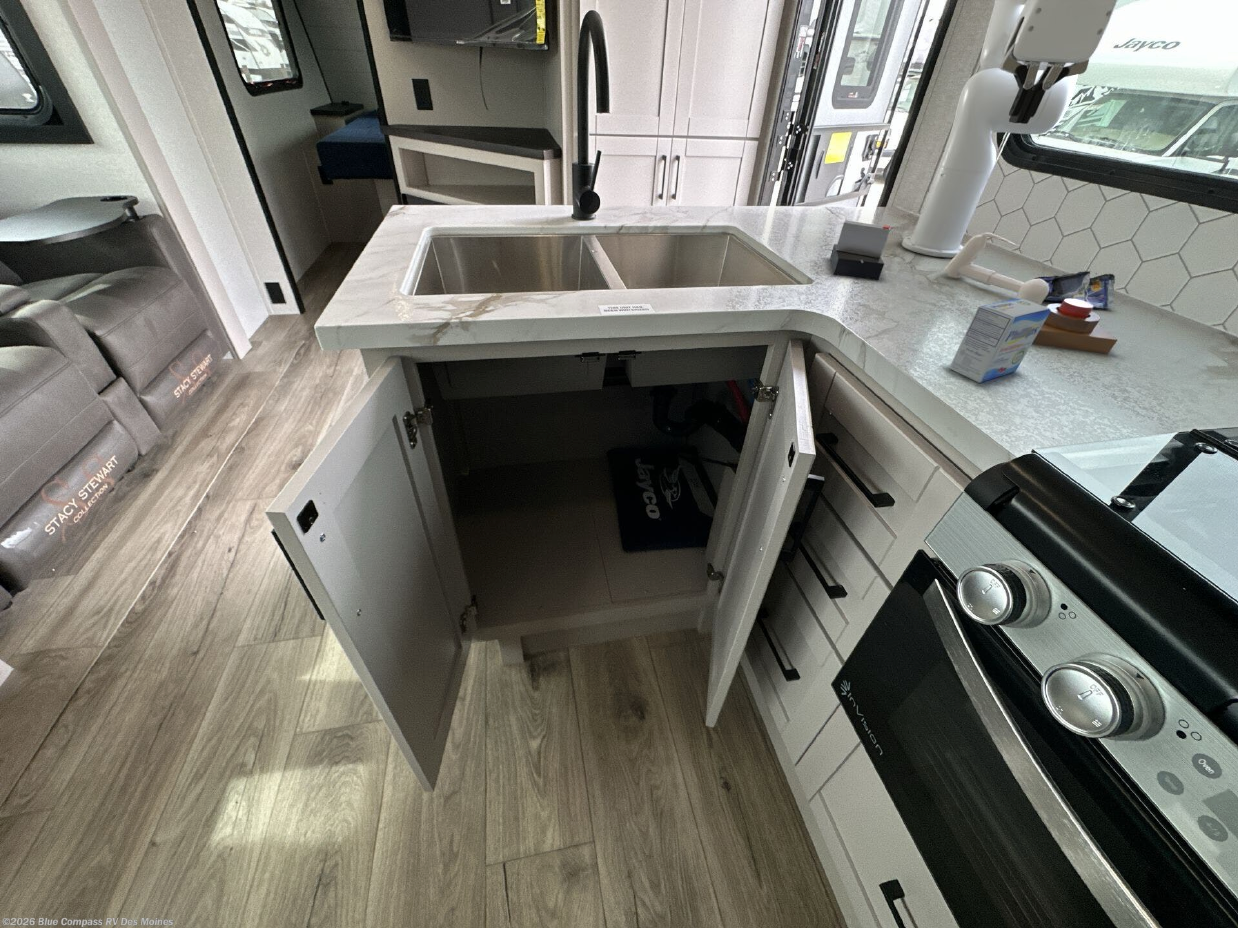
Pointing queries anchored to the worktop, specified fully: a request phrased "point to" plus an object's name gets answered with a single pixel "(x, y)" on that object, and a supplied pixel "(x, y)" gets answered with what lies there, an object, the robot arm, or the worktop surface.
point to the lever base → (855, 265)
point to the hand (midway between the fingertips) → (1017, 122)
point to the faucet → (964, 267)
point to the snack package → (1082, 288)
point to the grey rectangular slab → (863, 238)
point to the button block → (1074, 332)
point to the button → (1075, 308)
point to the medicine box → (998, 339)
